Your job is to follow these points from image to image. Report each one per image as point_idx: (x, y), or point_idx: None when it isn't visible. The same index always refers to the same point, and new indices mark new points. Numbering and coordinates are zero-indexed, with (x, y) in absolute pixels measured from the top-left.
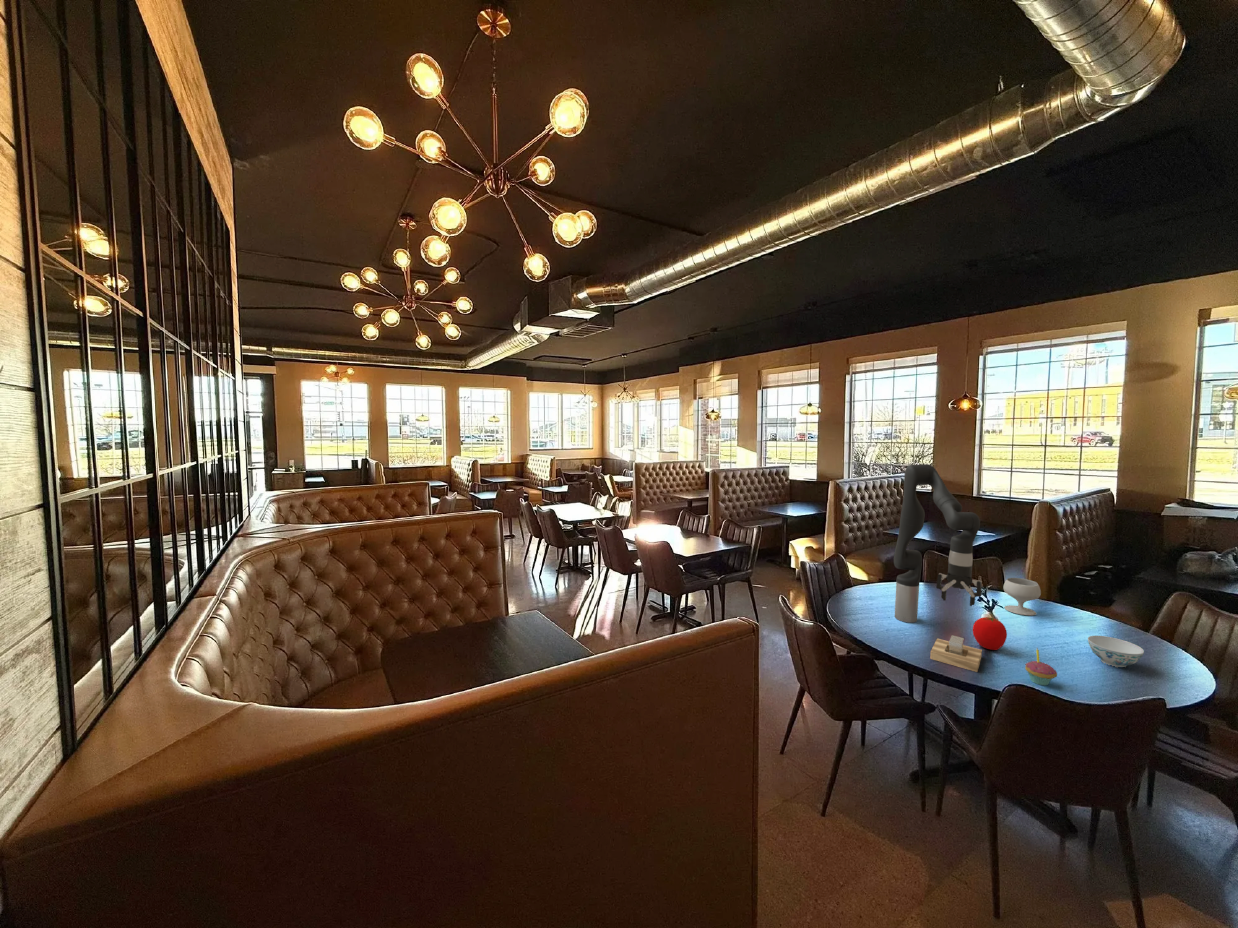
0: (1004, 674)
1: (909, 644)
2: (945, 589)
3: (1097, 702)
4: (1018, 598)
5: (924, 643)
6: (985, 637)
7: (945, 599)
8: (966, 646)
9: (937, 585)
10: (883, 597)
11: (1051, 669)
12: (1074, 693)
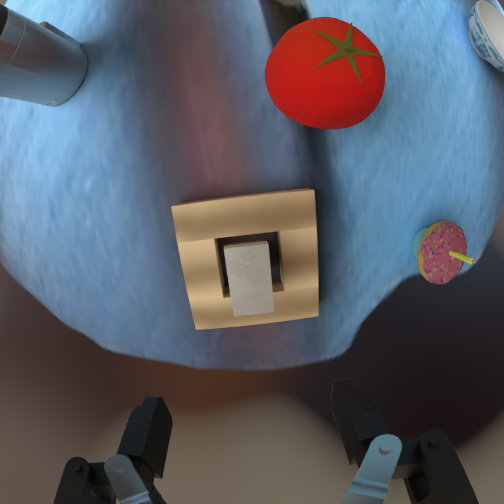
0: (367, 264)
1: (124, 265)
2: (157, 497)
3: (479, 255)
4: None
5: (147, 220)
6: (321, 128)
7: (168, 419)
8: (267, 199)
9: (98, 501)
10: None
11: (463, 262)
12: None
